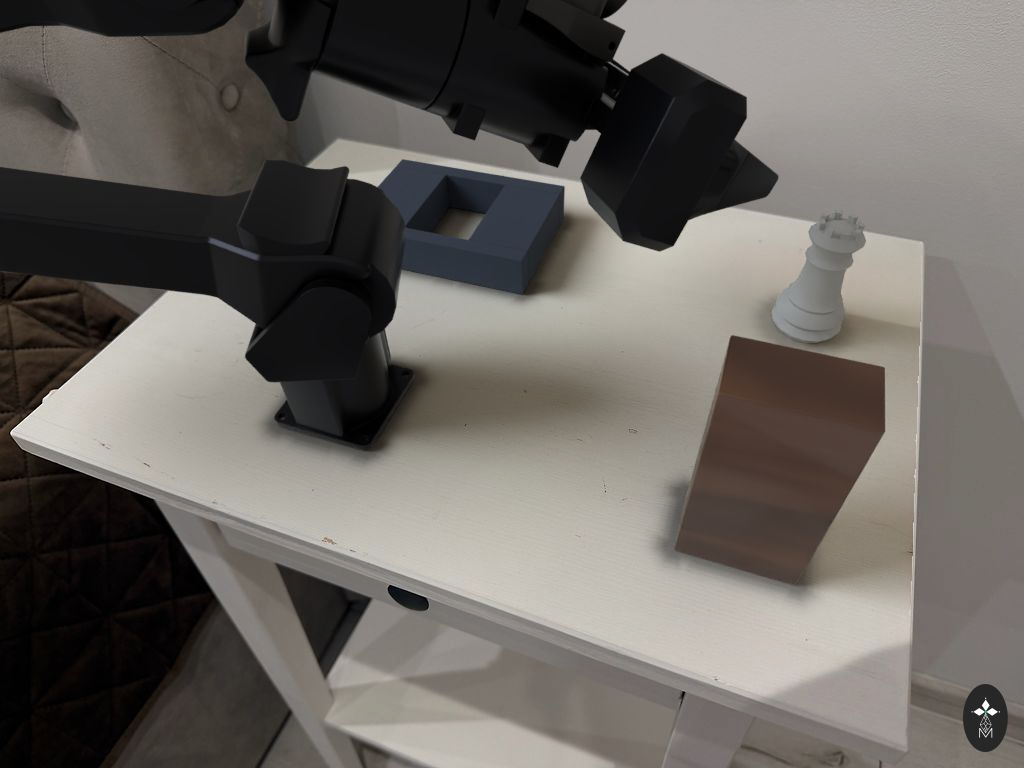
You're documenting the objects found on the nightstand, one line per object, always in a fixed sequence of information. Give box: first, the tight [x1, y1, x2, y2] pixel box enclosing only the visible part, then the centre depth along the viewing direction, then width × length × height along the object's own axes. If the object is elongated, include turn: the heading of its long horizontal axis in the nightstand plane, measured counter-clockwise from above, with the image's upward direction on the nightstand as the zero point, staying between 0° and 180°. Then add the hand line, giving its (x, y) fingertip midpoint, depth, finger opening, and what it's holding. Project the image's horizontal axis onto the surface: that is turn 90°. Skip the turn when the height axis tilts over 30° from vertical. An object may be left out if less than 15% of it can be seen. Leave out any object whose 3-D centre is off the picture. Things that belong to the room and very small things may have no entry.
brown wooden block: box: [673, 334, 886, 586], centre depth 31 cm, size 4×6×12 cm, turn 70°
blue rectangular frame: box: [377, 158, 566, 295], centre depth 53 cm, size 10×14×3 cm
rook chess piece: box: [771, 210, 867, 344], centre depth 44 cm, size 4×4×8 cm
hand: (719, 149), depth 36 cm, fingers open, 9 cm apart
